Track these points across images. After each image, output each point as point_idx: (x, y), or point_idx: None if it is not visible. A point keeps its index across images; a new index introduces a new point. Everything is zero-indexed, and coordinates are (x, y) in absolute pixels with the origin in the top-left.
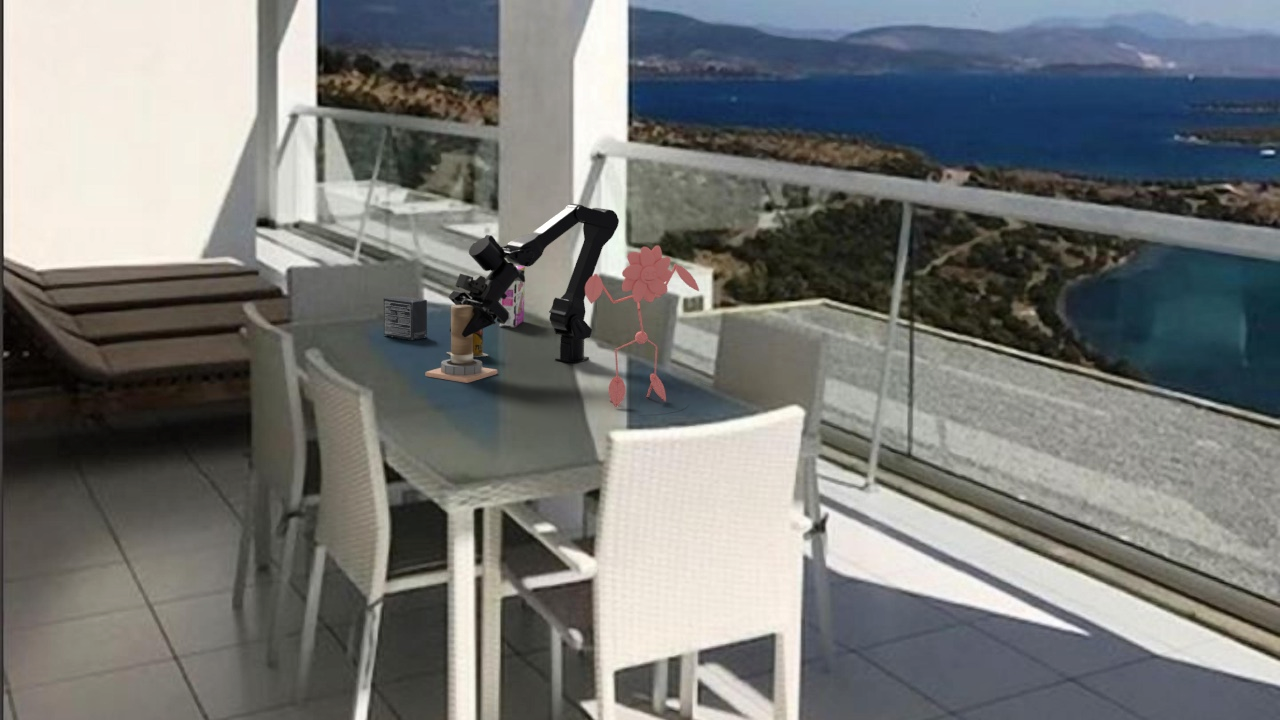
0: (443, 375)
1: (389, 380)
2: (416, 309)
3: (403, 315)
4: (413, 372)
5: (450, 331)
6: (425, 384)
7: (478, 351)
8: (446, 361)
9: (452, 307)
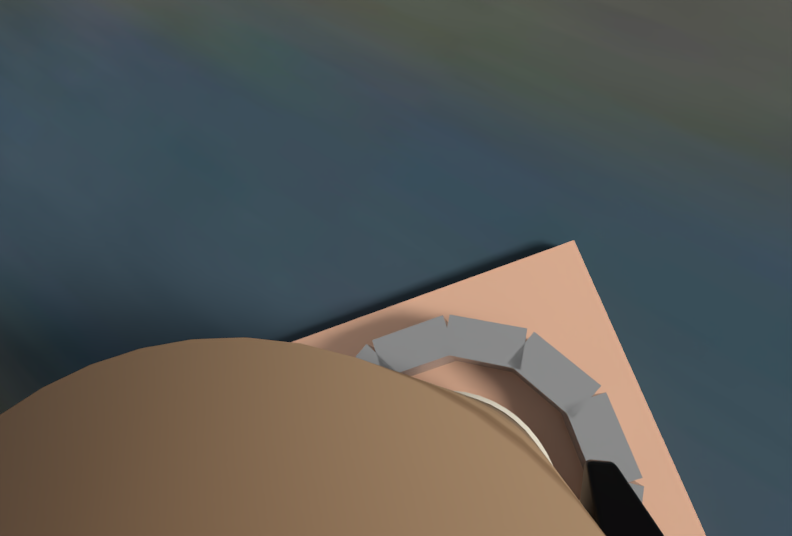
0: (427, 293)
1: (583, 25)
2: None
3: None
4: (729, 242)
5: (589, 462)
6: (379, 145)
7: None
8: (564, 403)
9: (269, 346)
